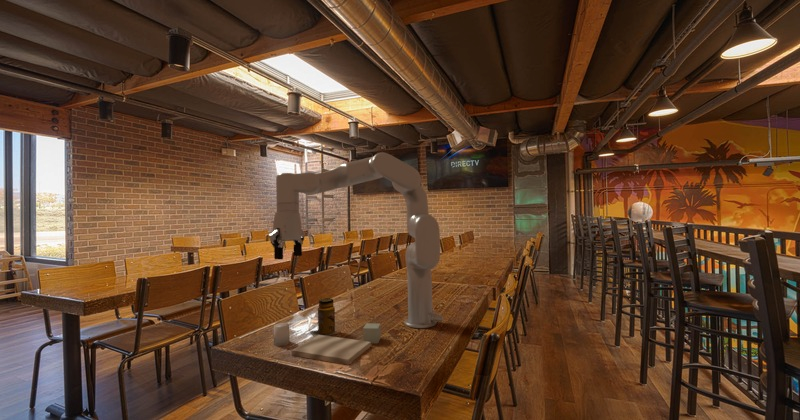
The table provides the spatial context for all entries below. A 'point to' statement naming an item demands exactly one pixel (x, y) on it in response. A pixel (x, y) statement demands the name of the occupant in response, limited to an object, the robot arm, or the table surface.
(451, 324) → the table surface
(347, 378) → the table surface
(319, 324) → the condiment
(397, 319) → the table surface
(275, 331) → the pale stubby cylinder
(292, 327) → the table surface
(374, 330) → the sage block
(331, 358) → the maple board
